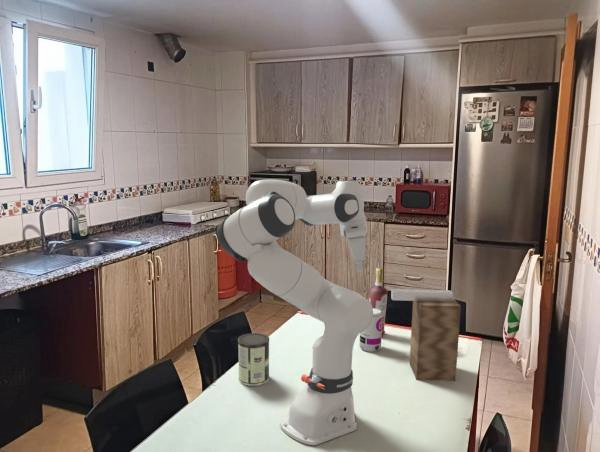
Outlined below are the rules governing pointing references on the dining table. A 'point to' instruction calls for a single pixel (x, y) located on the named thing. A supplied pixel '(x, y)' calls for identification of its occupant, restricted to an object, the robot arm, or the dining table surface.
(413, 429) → the dining table surface
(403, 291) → the aluminium bar
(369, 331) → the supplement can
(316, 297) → the robot arm
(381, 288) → the liquor
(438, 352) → the walnut stand
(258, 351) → the coffee can
